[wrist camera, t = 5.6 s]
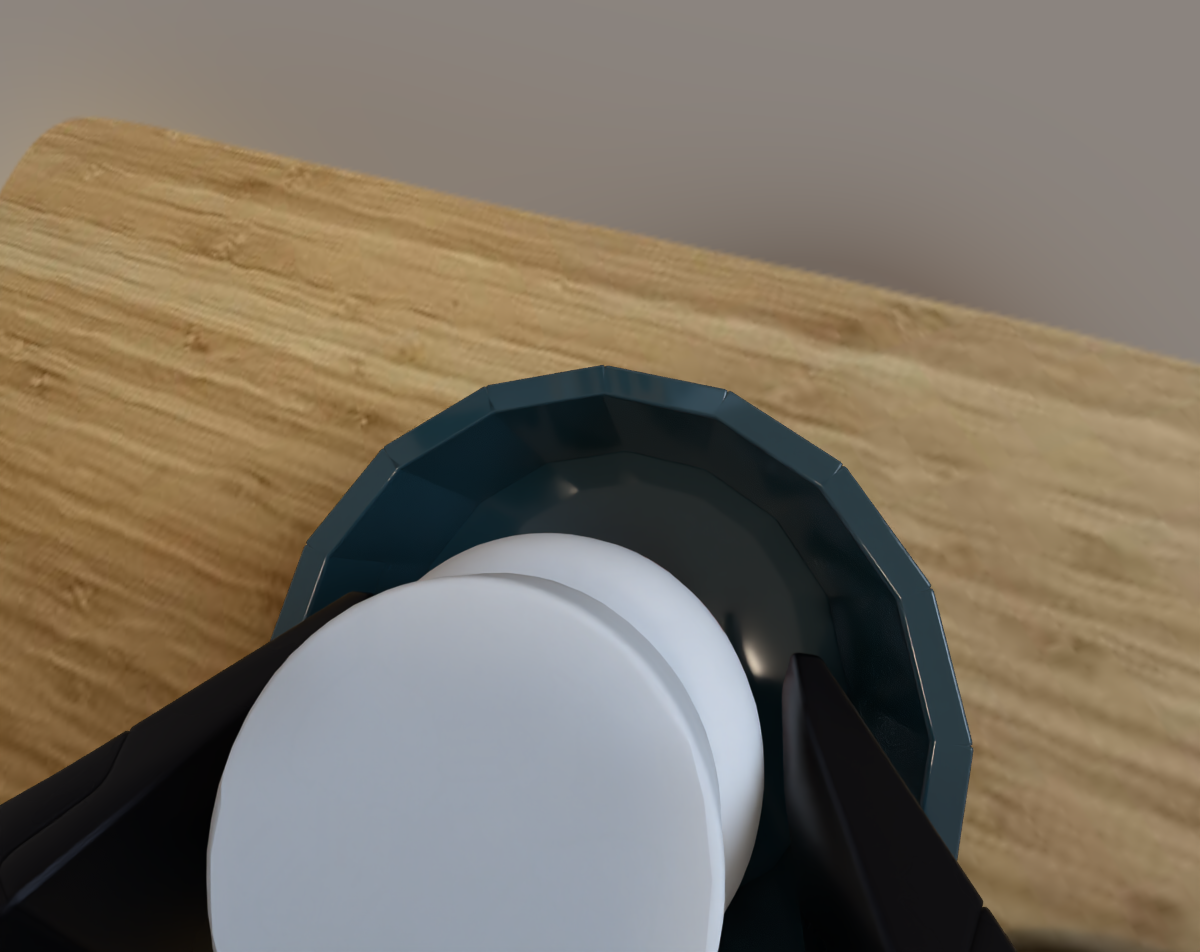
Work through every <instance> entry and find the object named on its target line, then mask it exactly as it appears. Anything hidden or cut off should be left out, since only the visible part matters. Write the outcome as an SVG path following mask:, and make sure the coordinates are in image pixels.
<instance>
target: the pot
mask: <svg viewBox="0 0 1200 952" xmlns="http://www.w3.org/2000/svg"><path fill="white" fill-rule="evenodd" d="M842 465H843V464H842V463H841V462H840V461H838V460H837V459H835V458H834V457H832V456H831V455H829V454H828V453H826V452H824V451H823V450H821V449H820V448H818V447H817V446H815V445H814V444H812V443H810V442H809V441H807V440H806V439H804V438H803V437H801V436H800V435H798V434H796V433H795V432H793V431H792V430H790V429H789V428H787V427H786V426H784V425H783V424H781V423H779V422H778V421H776V420H775V419H773V418H772V417H770V416H769V415H767V414H765V413H764V412H762V411H761V410H759V409H758V408H756V407H755V406H753V405H752V404H750V403H748V402H747V401H745V400H744V399H742V398H741V397H739V396H738V395H736V394H734V393H733V392H731V391H729V392H727V390H725V389H722V388H717V387H712V386H707V385H702V384H697V383H692V382H687V381H682V380H677V379H672V378H667V377H662V376H657V375H652V374H647V373H642V372H637V371H632V370H627V369H622V368H617V367H612V366H604V365H600V366H594V367H588V368H583V369H577V370H571V371H566V372H560V373H555V374H549V375H543V376H538V377H532V378H526V379H521V380H515V381H509V382H504V383H498V384H493V385H488V386H487V387H482V388H481V389H479V390H477V391H476V392H474V393H472V394H471V395H469V396H467V397H466V398H464V399H462V400H461V401H459V402H457V403H456V404H454V405H452V406H451V407H449V408H447V409H446V410H444V411H442V412H441V413H439V414H437V415H436V416H434V417H432V418H431V419H429V420H427V421H426V422H424V423H422V424H421V425H419V426H417V427H416V428H414V429H412V430H411V431H409V432H407V433H406V434H404V435H402V436H401V437H399V438H397V439H396V440H394V441H392V442H391V443H389V444H387V445H386V446H384V449H381V450H380V452H379V453H378V454H377V455H376V457H375V458H374V459H373V460H372V461H371V463H370V464H369V465H368V466H367V468H366V469H365V470H364V471H363V473H362V474H361V475H360V476H359V478H358V479H357V480H356V481H355V482H354V484H353V485H352V486H351V487H350V489H349V490H348V491H347V492H346V494H345V495H344V496H343V497H342V498H341V500H340V501H339V502H338V503H337V505H336V506H335V507H334V508H333V510H332V511H331V512H330V513H329V514H328V516H327V517H326V518H325V519H324V521H323V522H322V523H321V524H320V526H319V527H318V528H317V529H316V530H315V532H314V533H313V534H312V535H311V537H310V538H309V539H308V540H307V542H306V544H307V545H305V547H304V549H303V551H302V554H301V557H300V560H299V562H298V565H297V568H296V571H295V573H294V576H293V579H292V582H291V584H290V587H289V590H288V593H287V595H286V598H285V601H284V604H283V606H282V609H281V612H280V615H279V617H278V620H277V623H276V626H275V629H274V631H273V634H272V637H271V640H273V639H275V638H276V637H278V636H280V635H281V634H283V633H284V632H286V631H288V630H289V629H291V628H292V627H294V626H296V625H297V624H299V623H300V622H302V621H304V620H305V619H307V618H309V617H310V616H312V615H313V614H315V613H317V612H318V611H320V610H321V609H323V608H325V607H326V606H328V605H329V604H331V603H333V602H334V601H336V600H338V599H339V598H341V597H342V596H344V595H346V594H347V593H349V592H352V591H363V592H370V593H374V594H375V595H377V594H379V593H382V592H384V591H386V590H389V589H392V588H395V587H397V586H400V585H404V584H408V583H412V582H416V581H418V580H419V579H421V578H422V577H423V576H424V575H426V574H427V573H428V572H429V571H431V570H432V569H434V568H435V567H437V566H438V565H440V564H441V563H443V562H445V561H446V560H448V559H450V558H452V557H454V556H455V555H457V554H459V553H461V552H464V551H466V550H468V549H470V548H472V547H475V546H477V545H480V544H483V543H487V542H490V541H493V540H497V539H501V538H505V537H510V536H515V535H523V534H534V533H560V534H572V535H577V536H583V537H589V538H594V539H597V540H601V541H605V542H609V543H613V544H616V545H619V546H622V547H624V548H627V549H630V550H632V551H634V552H637V553H638V554H640V555H642V556H644V557H646V558H648V559H650V560H651V561H653V562H655V563H656V564H658V565H659V566H661V567H662V568H664V569H665V570H667V571H668V572H670V573H671V574H672V575H673V576H674V577H675V578H676V579H678V580H679V581H680V582H681V583H682V584H683V585H684V586H686V587H687V588H688V589H689V590H690V591H691V592H692V593H693V594H694V595H695V596H696V597H697V598H699V600H700V601H701V602H702V603H703V604H704V605H705V606H706V608H707V609H708V610H709V611H710V612H711V614H712V615H713V616H714V618H715V619H716V620H717V622H718V623H719V624H720V626H721V628H722V629H723V631H724V632H725V634H726V636H727V637H728V639H729V641H730V643H731V644H732V646H733V648H734V651H735V652H736V654H737V656H738V658H739V660H740V663H741V665H742V667H743V670H744V672H745V674H746V677H747V679H748V683H749V686H750V689H751V692H752V695H753V698H754V701H755V704H756V707H757V712H758V717H759V721H760V727H761V734H762V741H763V754H764V792H763V801H762V809H761V815H760V821H759V826H758V831H757V835H756V840H755V844H754V848H753V851H752V854H751V858H750V861H749V863H748V866H747V868H746V871H745V873H744V876H743V878H742V881H741V883H740V885H739V887H738V889H737V891H736V893H735V895H734V897H733V899H732V901H731V902H730V904H729V906H728V908H727V909H726V911H725V913H724V916H723V925H722V931H721V937H720V943H719V948H718V952H806V951H805V944H804V937H803V930H802V922H801V915H800V908H799V900H798V893H797V886H796V878H795V871H794V864H793V856H792V849H791V842H790V834H789V827H788V820H787V812H786V803H785V792H784V763H783V720H782V689H783V682H784V679H785V675H786V671H787V668H788V664H789V661H790V657H791V655H792V654H793V653H795V652H799V653H806V654H814V655H818V656H819V657H821V658H822V659H823V661H824V662H825V664H826V665H827V667H828V668H829V670H830V671H831V673H832V674H833V676H834V677H835V679H836V680H837V682H838V683H839V685H840V686H841V688H842V689H843V691H844V692H845V694H846V695H847V697H848V698H849V700H850V701H851V703H852V704H853V706H854V707H855V709H856V710H857V712H858V713H859V715H860V716H861V718H862V719H863V721H864V722H865V724H866V725H867V727H868V728H869V730H870V731H871V733H872V734H873V736H874V737H875V739H876V740H877V742H878V743H879V745H880V746H881V748H882V749H883V751H884V752H885V754H886V755H887V757H888V758H889V760H890V761H891V763H892V764H893V766H894V767H895V769H896V771H897V772H898V774H899V775H900V777H901V778H902V780H903V781H904V783H905V784H906V786H907V787H908V789H909V790H910V792H911V793H912V795H913V796H914V798H915V799H916V801H917V802H918V804H919V805H920V807H921V808H922V810H923V811H924V813H925V814H926V816H927V817H928V819H929V820H930V822H931V823H932V825H933V826H934V828H935V829H936V831H937V832H938V834H939V835H940V837H941V838H942V840H943V841H944V843H945V844H946V846H947V847H948V849H949V850H950V852H951V853H952V855H953V856H954V858H955V859H956V861H957V857H958V851H959V844H960V837H961V830H962V824H963V817H964V810H965V804H966V797H967V790H968V783H969V777H970V770H971V763H972V757H973V748H972V747H971V745H972V739H971V735H970V731H969V727H968V723H967V719H966V715H965V711H964V708H963V704H962V700H961V696H960V692H959V688H958V684H957V680H956V676H955V672H954V668H953V664H952V660H951V656H950V653H949V649H948V645H947V641H946V637H945V633H944V629H943V625H942V621H941V617H940V613H939V609H938V605H937V601H936V598H935V594H934V591H933V589H931V588H930V587H931V584H930V582H929V581H928V580H927V578H926V577H925V575H924V574H923V573H922V571H921V570H920V569H919V567H918V566H917V564H916V563H915V562H914V560H913V559H912V557H911V556H910V555H909V553H908V552H907V551H906V549H905V548H904V546H903V545H902V544H901V542H900V541H899V539H898V538H897V537H896V535H895V534H894V533H893V531H892V530H891V528H890V527H889V526H888V524H887V523H886V521H885V520H884V519H883V517H882V516H881V515H880V513H879V512H878V510H877V509H876V508H875V506H874V505H873V503H872V502H871V501H870V499H869V498H868V497H867V495H866V494H865V492H864V491H863V490H862V488H861V487H860V486H859V484H858V483H857V481H856V480H855V479H854V477H853V476H852V474H851V473H850V472H849V470H848V469H847V468H846V467H845V466H842ZM271 640H270V641H271Z"/></svg>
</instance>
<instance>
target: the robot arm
mask: <svg viewBox="0 0 1200 952" xmlns="http://www.w3.org/2000/svg"><path fill="white" fill-rule="evenodd" d="M373 596H375V594H374V593H370V592H363V591H352V592H349V593H347V594H346V595H344V596H342V597H341V598H339V599H338V600H336V601H334V602H333V603H331V604H329V605H328V606H326V607H325V608H323V609H321V610H320V611H318V612H317V613H315V614H313V615H312V616H310V617H309V618H307V619H305V620H304V621H302V622H300V623H299V624H297V625H296V626H294V627H292V628H291V629H289V630H288V631H286V632H284V633H283V634H281V635H280V636H278V637H276V638H275V639H273V640H271V641H270V642H268V643H267V644H265V645H263V646H262V647H260V648H259V649H257V650H255V651H254V652H252V653H251V654H249V655H247V656H246V657H244V658H243V659H241V660H239V661H238V662H236V663H234V664H233V665H231V666H230V667H228V668H226V669H225V670H223V671H222V672H220V673H218V674H217V675H215V676H214V677H212V678H210V679H209V680H207V681H205V682H204V683H202V684H201V685H199V686H197V687H196V688H194V689H193V690H191V691H189V692H188V693H186V694H185V695H183V696H181V697H180V698H178V699H176V700H175V701H173V702H172V703H170V704H168V705H167V706H165V707H164V708H162V709H160V710H159V711H157V712H156V713H154V714H152V715H151V716H149V717H147V718H146V719H144V720H143V721H141V722H139V723H138V724H136V725H135V726H133V727H132V728H131V729H130V731H125V732H123V733H121V734H120V735H118V736H117V737H115V738H113V739H112V740H110V741H109V742H107V743H105V744H104V745H102V746H101V747H99V748H97V749H96V750H94V751H92V752H91V753H89V754H87V755H86V756H84V757H82V758H81V759H79V760H77V761H76V762H74V763H72V764H71V765H69V766H67V767H66V768H64V769H62V770H61V771H59V772H57V773H56V774H54V775H52V776H51V777H49V778H47V779H45V780H44V781H42V782H40V783H38V784H36V785H35V786H33V787H31V788H29V789H28V790H26V791H24V792H22V793H21V794H19V795H17V796H15V797H14V798H12V799H10V800H8V801H7V802H5V803H3V804H1V805H0V952H213V948H212V938H211V931H210V924H209V917H208V903H207V879H206V877H207V847H208V840H209V833H210V826H211V819H212V814H213V809H214V805H215V800H216V795H217V791H218V786H219V783H220V780H221V777H222V774H223V771H224V768H225V766H226V763H227V760H228V757H229V754H230V751H231V749H232V746H233V744H234V742H235V740H236V738H237V735H238V733H239V731H240V729H241V727H242V725H243V723H244V721H245V719H246V717H247V715H248V713H249V711H250V709H251V708H252V706H253V705H254V703H255V701H256V700H257V698H258V697H259V695H260V693H261V692H262V690H263V689H264V687H265V686H266V685H267V683H268V682H269V680H270V679H271V678H272V676H273V675H274V673H275V672H276V671H277V670H278V669H279V668H280V667H281V666H282V665H283V663H284V662H285V661H286V660H287V658H288V657H289V656H290V655H291V654H292V653H293V652H294V651H295V650H296V649H298V648H299V647H300V646H301V645H302V644H303V643H304V642H305V641H306V640H307V639H308V638H309V637H310V636H311V635H312V634H314V633H315V632H316V631H317V630H319V629H320V628H321V627H323V626H324V625H325V624H326V623H328V622H329V621H330V620H332V619H333V618H335V617H336V616H338V615H339V614H341V613H343V612H344V611H346V610H347V609H349V608H350V607H352V606H353V605H355V604H357V603H360V602H362V601H364V600H366V599H368V598H371V597H373ZM782 720H783V763H784V792H785V803H786V812H787V820H788V827H789V834H790V842H791V849H792V856H793V864H794V871H795V878H796V886H797V893H798V900H799V908H800V915H801V922H802V930H803V937H804V944H805V951H806V952H1017V951H1016V949H1015V948H1014V946H1013V945H1012V943H1011V942H1010V940H1009V939H1008V937H1007V936H1006V934H1005V933H1004V931H1003V930H1002V928H1001V927H1000V925H999V924H998V922H997V921H996V919H995V918H994V916H993V914H992V913H991V911H990V910H989V909H988V908H987V907H982V906H983V900H982V898H981V897H980V895H979V894H978V892H977V891H976V889H975V888H974V886H973V885H972V883H971V882H970V880H969V879H968V877H967V876H966V874H965V873H964V871H963V870H962V868H961V867H960V865H959V864H958V862H957V861H956V859H955V858H954V856H953V855H952V853H951V852H950V850H949V849H948V847H947V846H946V844H945V843H944V841H943V840H942V838H941V837H940V835H939V834H938V832H937V831H936V829H935V828H934V826H933V825H932V823H931V822H930V820H929V819H928V817H927V816H926V814H925V813H924V811H923V810H922V808H921V807H920V805H919V804H918V802H917V801H916V799H915V798H914V796H913V795H912V793H911V792H910V790H909V789H908V787H907V786H906V784H905V783H904V781H903V780H902V778H901V777H900V775H899V774H898V772H897V771H896V769H895V767H894V766H893V764H892V763H891V761H890V760H889V758H888V757H887V755H886V754H885V752H884V751H883V749H882V748H881V746H880V745H879V743H878V742H877V740H876V739H875V737H874V736H873V734H872V733H871V731H870V730H869V728H868V727H867V725H866V724H865V722H864V721H863V719H862V718H861V716H860V715H859V713H858V712H857V710H856V709H855V707H854V706H853V704H852V703H851V701H850V700H849V698H848V697H847V695H846V694H845V692H844V691H843V689H842V688H841V686H840V685H839V683H838V682H837V680H836V679H835V677H834V676H833V674H832V673H831V671H830V670H829V668H828V667H827V665H826V664H825V662H824V661H823V659H822V658H821V657H819V656H818V655H814V654H806V653H799V652H795V653H793V654H792V655H791V657H790V661H789V664H788V668H787V671H786V675H785V679H784V682H783V689H782Z"/></svg>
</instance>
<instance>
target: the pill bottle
mask: <svg viewBox="0 0 1200 952" xmlns="http://www.w3.org/2000/svg"><path fill="white" fill-rule="evenodd" d="M763 792H764V754H763V741H762V734H761V727H760V721H759V717H758V712H757V707H756V704H755V701H754V698H753V695H752V692H751V689H750V686H749V683H748V679H747V677H746V674H745V672H744V670H743V667H742V665H741V663H740V660H739V658H738V656H737V654H736V652H735V651H734V648H733V646H732V644H731V643H730V641H729V639H728V637H727V636H726V634H725V632H724V631H723V629H722V628H721V626H720V624H719V623H718V622H717V620H716V619H715V618H714V616H713V615H712V614H711V612H710V611H709V610H708V609H707V608H706V606H705V605H704V604H703V603H702V602H701V601H700V600H699V598H697V597H696V596H695V595H694V594H693V593H692V592H691V591H690V590H689V589H688V588H687V587H686V586H684V585H683V584H682V583H681V582H680V581H679V580H678V579H676V578H675V577H674V576H673V575H672V574H671V573H670V572H668V571H667V570H665V569H664V568H662V567H661V566H659V565H658V564H656V563H655V562H653V561H651V560H650V559H648V558H646V557H644V556H642V555H640V554H638V553H637V552H634V551H632V550H630V549H627V548H624V547H622V546H619V545H616V544H613V543H609V542H605V541H601V540H597V539H594V538H589V537H583V536H577V535H572V534H560V533H534V534H523V535H515V536H510V537H505V538H501V539H497V540H493V541H490V542H487V543H483V544H480V545H477V546H475V547H472V548H470V549H468V550H466V551H464V552H461V553H459V554H457V555H455V556H454V557H452V558H450V559H448V560H446V561H445V562H443V563H441V564H440V565H438V566H437V567H435V568H434V569H432V570H431V571H429V572H428V573H427V574H426V575H424V576H423V577H422V578H421V579H419V580H418V581H416V582H412V583H408V584H404V585H400V586H397V587H395V588H392V589H389V590H386V591H384V592H382V593H379V594H377V595H375V596H373V597H371V598H368V599H366V600H364V601H362V602H360V603H357V604H355V605H353V606H352V607H350V608H349V609H347V610H346V611H344V612H343V613H341V614H339V615H338V616H336V617H335V618H333V619H332V620H330V621H329V622H328V623H326V624H325V625H324V626H323V627H321V628H320V629H319V630H317V631H316V632H315V633H314V634H312V635H311V636H310V637H309V638H308V639H307V640H306V641H305V642H304V643H303V644H302V645H301V646H300V647H299V648H298V649H296V650H295V651H294V652H293V653H292V654H291V655H290V656H289V657H288V658H287V660H286V661H285V662H284V663H283V665H282V666H281V667H280V668H279V669H278V670H277V671H276V672H275V673H274V675H273V676H272V678H271V679H270V680H269V682H268V683H267V685H266V686H265V687H264V689H263V690H262V692H261V693H260V695H259V697H258V698H257V700H256V701H255V703H254V705H253V706H252V708H251V709H250V711H249V713H248V715H247V717H246V719H245V721H244V723H243V725H242V727H241V729H240V731H239V733H238V735H237V738H236V740H235V742H234V744H233V746H232V749H231V751H230V754H229V757H228V760H227V763H226V766H225V768H224V771H223V774H222V777H221V780H220V783H219V786H218V791H217V795H216V800H215V805H214V809H213V814H212V819H211V826H210V833H209V840H208V847H207V877H206V879H207V903H208V917H209V924H210V931H211V938H212V948H213V952H718V948H719V943H720V937H721V931H722V925H723V916H724V913H725V911H726V909H727V908H728V906H729V904H730V902H731V901H732V899H733V897H734V895H735V893H736V891H737V889H738V887H739V885H740V883H741V881H742V878H743V876H744V873H745V871H746V868H747V866H748V863H749V861H750V858H751V854H752V851H753V848H754V844H755V840H756V835H757V831H758V826H759V821H760V815H761V809H762V801H763Z"/></svg>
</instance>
